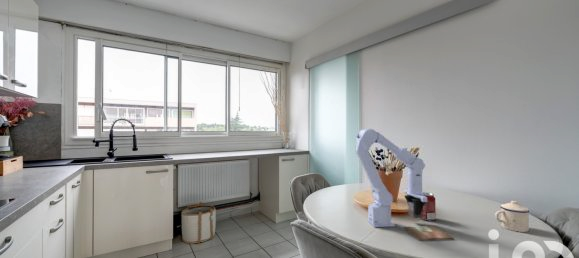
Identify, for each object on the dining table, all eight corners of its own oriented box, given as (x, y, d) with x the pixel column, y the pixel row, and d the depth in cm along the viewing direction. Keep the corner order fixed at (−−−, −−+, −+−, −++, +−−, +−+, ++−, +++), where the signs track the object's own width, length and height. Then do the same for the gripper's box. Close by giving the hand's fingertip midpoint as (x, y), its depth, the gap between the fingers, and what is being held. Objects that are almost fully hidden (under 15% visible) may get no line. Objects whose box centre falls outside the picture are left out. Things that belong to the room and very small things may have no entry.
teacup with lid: (517, 224, 107) (517, 198, 107) (535, 233, 98) (535, 204, 98) (488, 223, 108) (488, 197, 108) (503, 231, 99) (503, 204, 99)
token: (413, 217, 106) (413, 204, 106) (408, 214, 110) (408, 201, 110) (422, 217, 107) (421, 204, 107) (416, 214, 111) (416, 201, 111)
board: (419, 240, 92) (419, 238, 92) (403, 228, 103) (403, 226, 103) (453, 239, 92) (453, 237, 92) (435, 227, 103) (434, 225, 103)
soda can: (438, 221, 110) (437, 196, 110) (422, 220, 111) (421, 195, 111) (432, 216, 117) (432, 192, 117) (417, 215, 118) (417, 191, 118)
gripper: (433, 187, 102) (434, 218, 102) (414, 179, 116) (414, 207, 116) (418, 187, 101) (418, 219, 101) (400, 180, 116) (400, 208, 116)
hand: (415, 213), depth 109 cm, fingers closed on token, 4 cm apart
